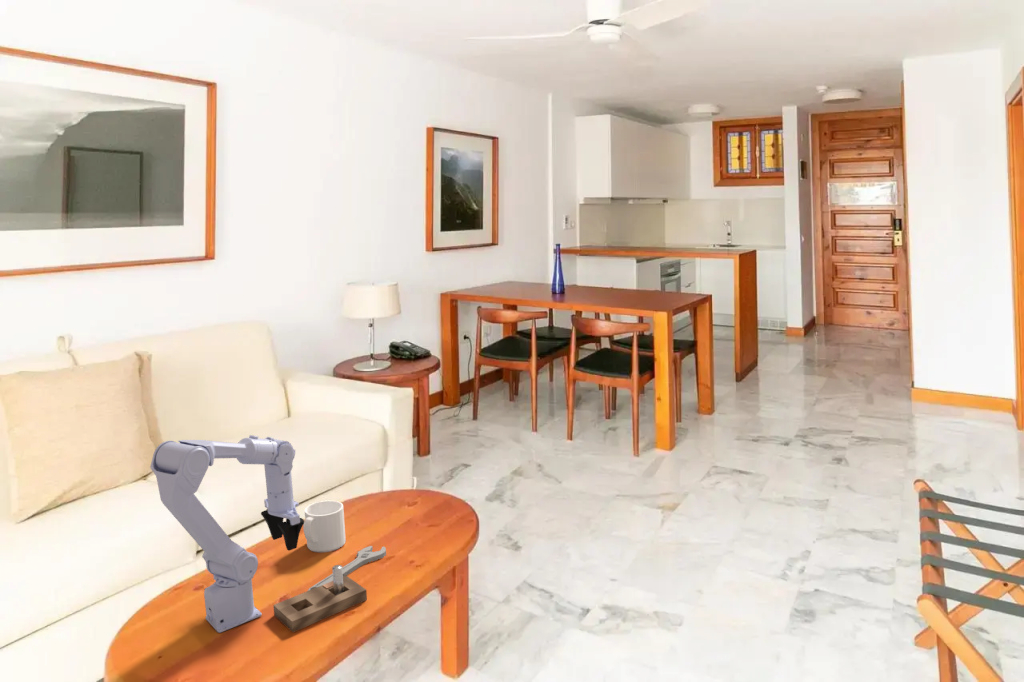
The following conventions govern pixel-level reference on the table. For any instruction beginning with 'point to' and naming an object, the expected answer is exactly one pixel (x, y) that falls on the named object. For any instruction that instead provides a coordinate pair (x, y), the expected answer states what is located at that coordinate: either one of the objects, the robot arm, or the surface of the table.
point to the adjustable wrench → (356, 563)
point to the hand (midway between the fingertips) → (284, 543)
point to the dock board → (318, 604)
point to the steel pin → (338, 579)
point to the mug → (324, 526)
